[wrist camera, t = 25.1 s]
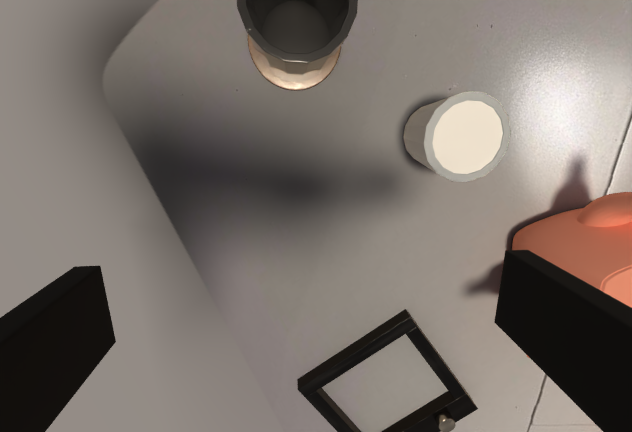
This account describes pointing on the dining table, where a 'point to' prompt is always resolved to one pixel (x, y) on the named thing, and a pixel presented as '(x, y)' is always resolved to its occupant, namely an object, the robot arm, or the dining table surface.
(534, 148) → the dining table surface
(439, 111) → the white cup
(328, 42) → the gray cup
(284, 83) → the coaster
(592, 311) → the robot arm
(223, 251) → the dining table surface
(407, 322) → the square frame with knob
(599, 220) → the pot
